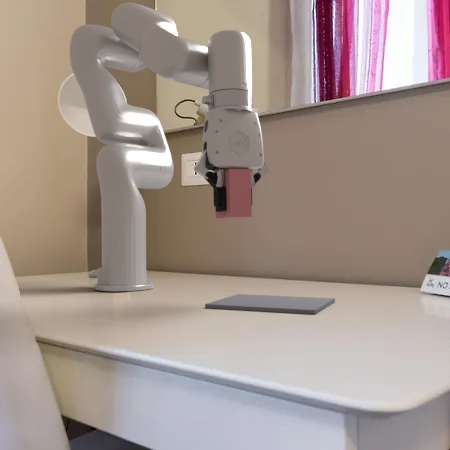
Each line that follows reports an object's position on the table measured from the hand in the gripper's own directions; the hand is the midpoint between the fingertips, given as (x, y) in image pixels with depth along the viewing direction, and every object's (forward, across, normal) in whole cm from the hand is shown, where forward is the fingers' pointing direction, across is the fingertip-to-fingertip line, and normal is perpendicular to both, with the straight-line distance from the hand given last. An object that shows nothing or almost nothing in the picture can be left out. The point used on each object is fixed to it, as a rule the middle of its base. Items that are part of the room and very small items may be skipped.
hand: (233, 210), depth 91 cm
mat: (+16, +4, -5) cm, 17 cm away
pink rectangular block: (+1, 0, 0) cm, 1 cm away
